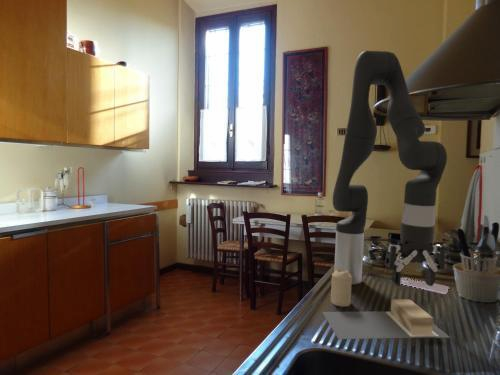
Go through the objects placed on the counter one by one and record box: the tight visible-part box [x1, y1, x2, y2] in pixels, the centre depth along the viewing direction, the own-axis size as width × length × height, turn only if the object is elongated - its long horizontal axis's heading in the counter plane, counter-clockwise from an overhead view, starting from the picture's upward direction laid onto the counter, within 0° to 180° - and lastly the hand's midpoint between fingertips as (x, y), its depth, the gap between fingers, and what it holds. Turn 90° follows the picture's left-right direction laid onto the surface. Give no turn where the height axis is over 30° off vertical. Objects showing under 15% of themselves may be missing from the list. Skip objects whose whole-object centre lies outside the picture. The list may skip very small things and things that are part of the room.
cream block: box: [390, 298, 434, 334], centre depth 89 cm, size 11×5×4 cm, turn 4°
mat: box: [321, 310, 451, 340], centre depth 89 cm, size 14×27×1 cm, turn 94°
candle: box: [330, 269, 352, 307], centre depth 101 cm, size 6×6×10 cm
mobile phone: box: [400, 276, 450, 295], centre depth 118 cm, size 8×1×15 cm
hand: (413, 284), depth 89 cm, fingers open, 8 cm apart
